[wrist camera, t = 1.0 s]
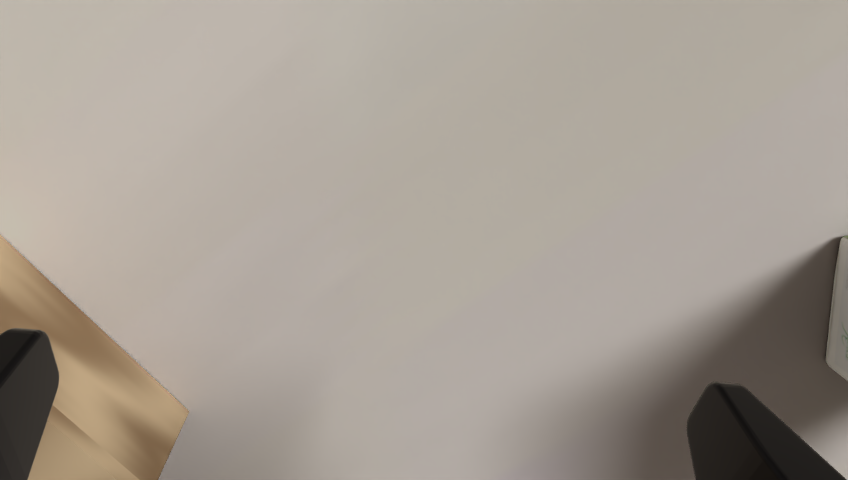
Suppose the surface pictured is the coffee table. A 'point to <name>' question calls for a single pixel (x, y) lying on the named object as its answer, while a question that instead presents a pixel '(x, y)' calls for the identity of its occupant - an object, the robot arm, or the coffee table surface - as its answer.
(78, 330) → the kraft carton sleeve
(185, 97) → the coffee table surface
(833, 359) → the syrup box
